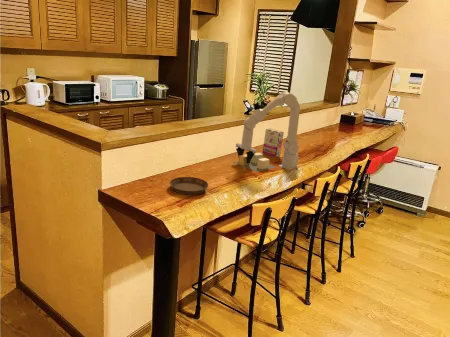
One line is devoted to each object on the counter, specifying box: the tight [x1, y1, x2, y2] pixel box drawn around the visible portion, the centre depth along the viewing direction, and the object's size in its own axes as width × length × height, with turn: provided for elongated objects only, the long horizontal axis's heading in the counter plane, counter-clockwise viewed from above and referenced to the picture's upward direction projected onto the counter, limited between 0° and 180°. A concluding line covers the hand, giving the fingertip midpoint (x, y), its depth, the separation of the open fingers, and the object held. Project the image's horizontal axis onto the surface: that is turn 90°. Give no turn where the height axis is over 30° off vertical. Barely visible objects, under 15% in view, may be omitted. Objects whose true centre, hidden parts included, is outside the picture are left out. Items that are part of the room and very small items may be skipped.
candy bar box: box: [262, 128, 284, 158], centre depth 239 cm, size 11×5×16 cm, turn 47°
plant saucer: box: [169, 176, 209, 196], centre depth 170 cm, size 18×18×3 cm
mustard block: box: [237, 154, 250, 166], centre depth 214 cm, size 6×4×5 cm, turn 135°
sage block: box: [251, 152, 264, 164], centre depth 220 cm, size 6×4×5 cm, turn 135°
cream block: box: [257, 157, 270, 169], centre depth 211 cm, size 6×4×5 cm, turn 135°
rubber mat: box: [233, 161, 277, 173], centre depth 215 cm, size 18×18×1 cm
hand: (244, 161), depth 214 cm, fingers open, 6 cm apart
